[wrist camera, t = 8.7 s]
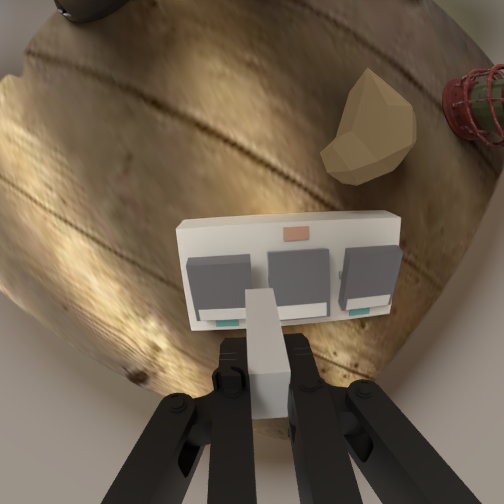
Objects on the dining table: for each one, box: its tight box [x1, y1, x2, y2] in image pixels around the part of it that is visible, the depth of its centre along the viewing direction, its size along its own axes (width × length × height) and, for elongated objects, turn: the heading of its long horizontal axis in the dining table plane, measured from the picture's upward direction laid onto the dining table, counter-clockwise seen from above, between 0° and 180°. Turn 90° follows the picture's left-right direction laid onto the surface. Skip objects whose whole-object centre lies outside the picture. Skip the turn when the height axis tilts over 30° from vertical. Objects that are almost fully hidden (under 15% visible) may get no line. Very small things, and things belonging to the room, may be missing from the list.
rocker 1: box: [186, 254, 252, 321], centre depth 34 cm, size 8×7×2 cm
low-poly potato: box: [320, 68, 416, 187], centre depth 31 cm, size 15×11×12 cm
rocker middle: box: [267, 248, 330, 321], centre depth 34 cm, size 8×7×2 cm
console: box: [176, 210, 401, 331], centre depth 38 cm, size 14×28×6 cm, turn 93°
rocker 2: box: [338, 245, 403, 311], centre depth 34 cm, size 8×7×2 cm
